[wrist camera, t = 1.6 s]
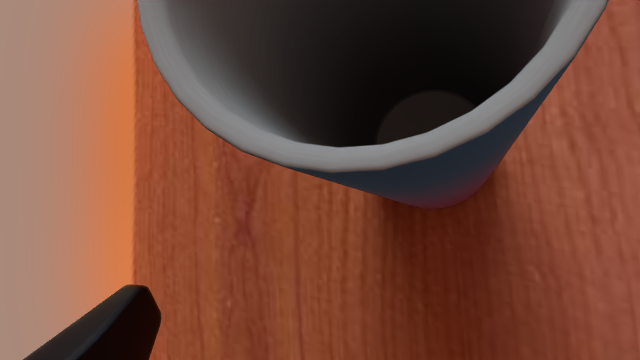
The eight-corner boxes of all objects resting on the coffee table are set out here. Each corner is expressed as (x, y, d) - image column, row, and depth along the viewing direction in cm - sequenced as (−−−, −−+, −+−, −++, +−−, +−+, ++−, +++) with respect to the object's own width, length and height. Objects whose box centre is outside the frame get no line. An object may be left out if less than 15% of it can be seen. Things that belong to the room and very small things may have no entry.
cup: (343, 225, 22) (105, 164, 8) (355, 67, 23) (161, -251, 9) (518, 238, 20) (630, 186, 6) (524, 64, 21) (635, -351, 7)
